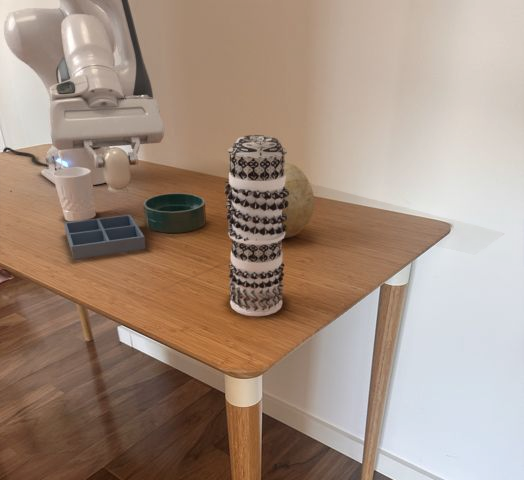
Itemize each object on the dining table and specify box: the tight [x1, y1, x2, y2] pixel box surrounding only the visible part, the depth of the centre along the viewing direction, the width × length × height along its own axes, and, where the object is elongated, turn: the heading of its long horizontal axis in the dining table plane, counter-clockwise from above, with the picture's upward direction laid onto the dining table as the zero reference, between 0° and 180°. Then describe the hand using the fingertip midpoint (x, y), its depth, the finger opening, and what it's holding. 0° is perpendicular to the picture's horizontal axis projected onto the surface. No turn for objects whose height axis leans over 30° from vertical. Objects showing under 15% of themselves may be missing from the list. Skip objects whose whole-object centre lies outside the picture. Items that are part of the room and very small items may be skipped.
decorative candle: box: [223, 134, 289, 317], centre depth 74 cm, size 9×9×25 cm
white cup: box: [52, 167, 97, 222], centre depth 110 cm, size 8×8×10 cm
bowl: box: [143, 192, 207, 234], centre depth 108 cm, size 13×13×5 cm
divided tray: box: [63, 214, 147, 261], centre depth 100 cm, size 14×14×3 cm
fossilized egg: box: [282, 161, 315, 239], centre depth 101 cm, size 13×13×15 cm
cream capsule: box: [103, 146, 132, 194], centre depth 92 cm, size 5×5×8 cm
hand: (117, 164), depth 91 cm, fingers closed on cream capsule, 5 cm apart
